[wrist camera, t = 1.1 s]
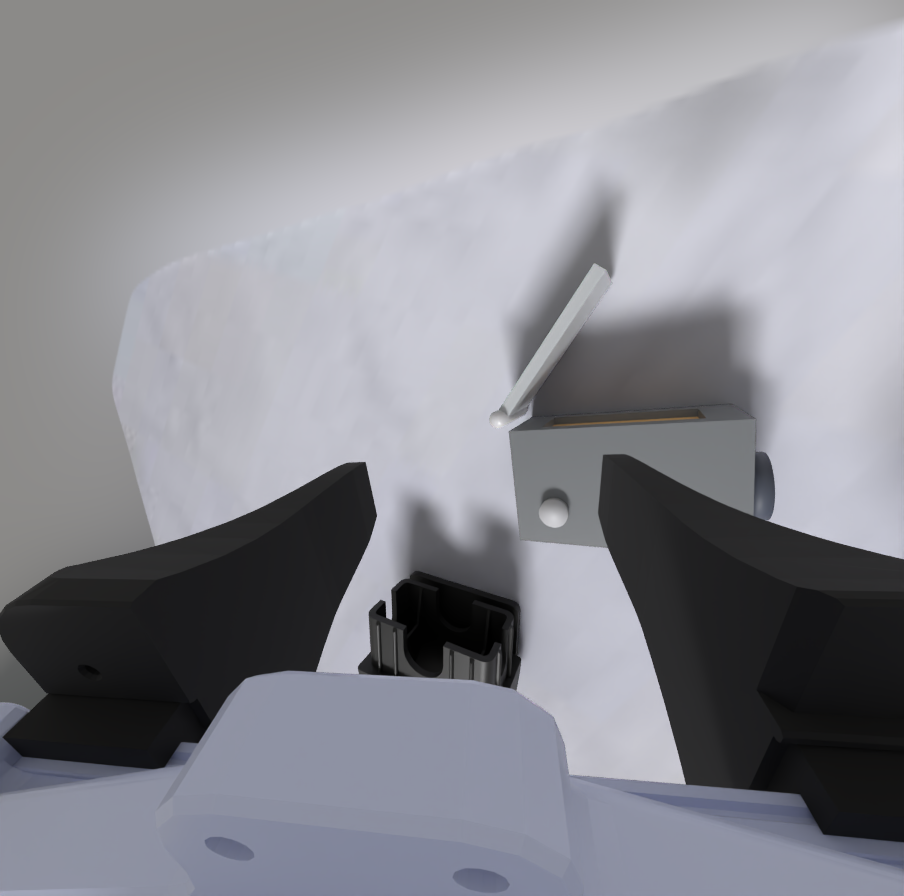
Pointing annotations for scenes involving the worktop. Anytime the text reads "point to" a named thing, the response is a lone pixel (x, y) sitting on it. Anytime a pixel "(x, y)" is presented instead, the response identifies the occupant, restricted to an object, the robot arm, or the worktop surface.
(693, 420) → the camera case
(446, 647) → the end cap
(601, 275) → the side cover
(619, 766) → the worktop surface
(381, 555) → the worktop surface
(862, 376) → the worktop surface
